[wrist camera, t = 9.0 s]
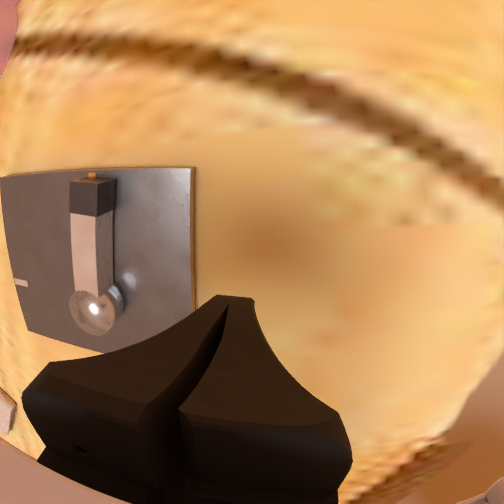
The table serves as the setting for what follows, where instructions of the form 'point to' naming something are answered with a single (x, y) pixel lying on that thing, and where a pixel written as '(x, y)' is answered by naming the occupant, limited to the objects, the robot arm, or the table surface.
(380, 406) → the table surface
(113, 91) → the table surface
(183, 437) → the robot arm
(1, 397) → the washcloth
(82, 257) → the lever
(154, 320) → the plate
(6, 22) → the clip
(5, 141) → the table surface
